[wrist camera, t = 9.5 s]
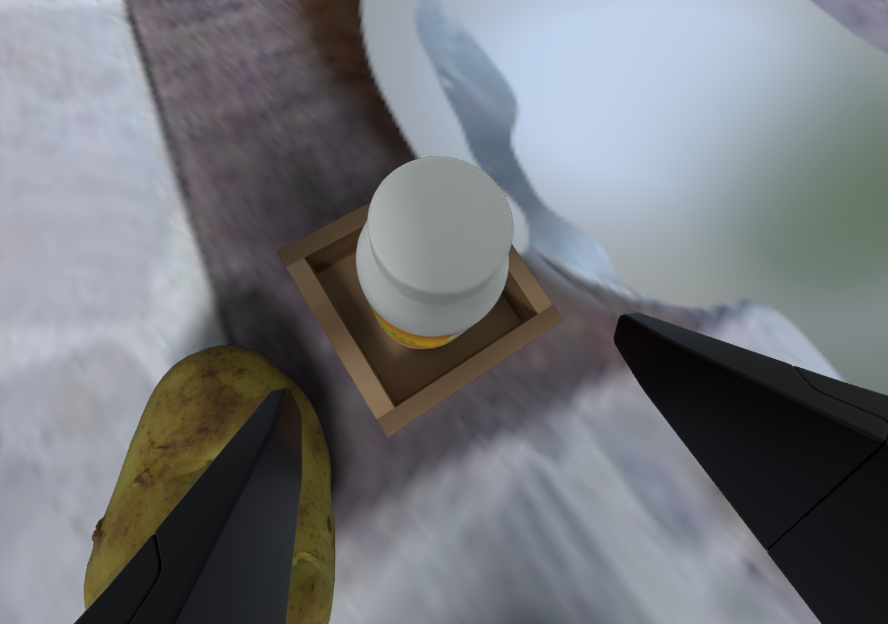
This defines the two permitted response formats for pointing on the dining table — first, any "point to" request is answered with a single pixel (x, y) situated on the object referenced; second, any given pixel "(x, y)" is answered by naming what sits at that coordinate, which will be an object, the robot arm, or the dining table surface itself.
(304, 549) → the potato
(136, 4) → the dining table surface
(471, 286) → the supplement bottle
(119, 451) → the dining table surface
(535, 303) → the open wooden box
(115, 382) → the dining table surface
